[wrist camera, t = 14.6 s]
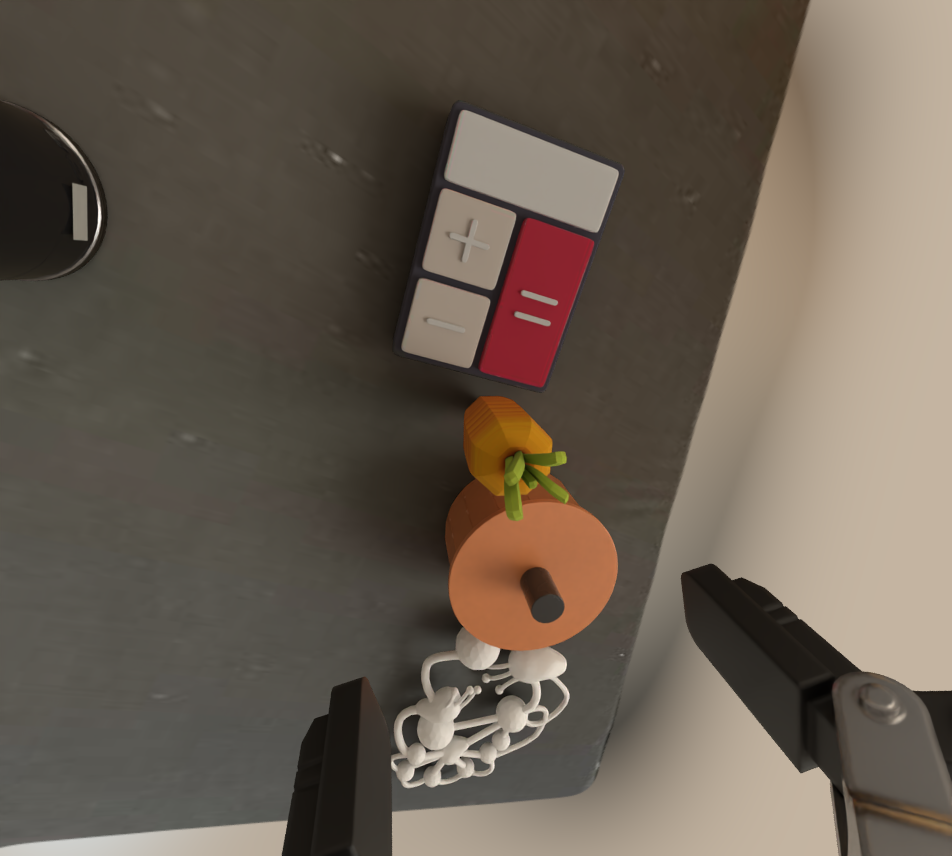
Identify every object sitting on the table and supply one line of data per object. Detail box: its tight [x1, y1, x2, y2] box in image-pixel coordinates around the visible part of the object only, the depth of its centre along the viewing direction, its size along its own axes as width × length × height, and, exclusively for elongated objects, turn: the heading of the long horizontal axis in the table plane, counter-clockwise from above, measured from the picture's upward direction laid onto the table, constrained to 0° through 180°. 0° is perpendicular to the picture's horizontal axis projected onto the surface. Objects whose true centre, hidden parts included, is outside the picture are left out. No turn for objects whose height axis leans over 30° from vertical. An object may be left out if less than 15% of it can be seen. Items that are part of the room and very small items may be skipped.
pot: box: [445, 474, 580, 566], centre depth 38 cm, size 11×11×7 cm
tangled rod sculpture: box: [391, 627, 569, 788], centre depth 44 cm, size 19×14×4 cm
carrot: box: [463, 396, 569, 521], centre depth 30 cm, size 5×5×15 cm
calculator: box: [393, 100, 625, 393], centre depth 32 cm, size 11×4×15 cm
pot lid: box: [448, 499, 618, 651], centre depth 33 cm, size 12×12×4 cm
